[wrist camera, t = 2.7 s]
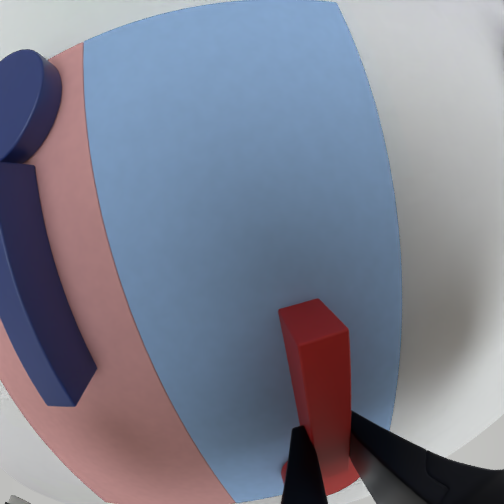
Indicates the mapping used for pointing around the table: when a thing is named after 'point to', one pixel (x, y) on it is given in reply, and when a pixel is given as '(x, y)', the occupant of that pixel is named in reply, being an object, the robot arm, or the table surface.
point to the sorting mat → (211, 244)
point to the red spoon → (321, 386)
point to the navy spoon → (34, 239)
